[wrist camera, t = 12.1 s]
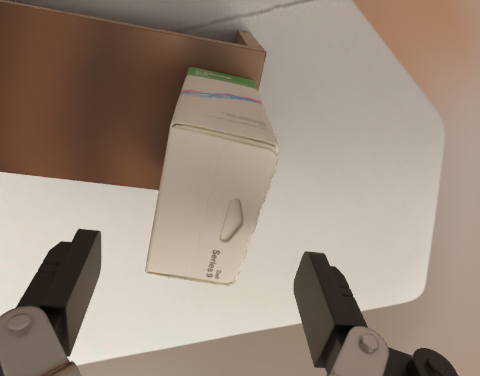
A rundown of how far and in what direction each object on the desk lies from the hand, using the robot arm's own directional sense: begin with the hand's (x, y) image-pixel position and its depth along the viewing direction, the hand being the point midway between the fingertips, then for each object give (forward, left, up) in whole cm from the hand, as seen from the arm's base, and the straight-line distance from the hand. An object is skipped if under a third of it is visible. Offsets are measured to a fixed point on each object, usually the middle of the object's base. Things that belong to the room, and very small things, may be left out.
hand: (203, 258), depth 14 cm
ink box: (0, 0, -15) cm, 15 cm away
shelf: (+5, -6, -24) cm, 26 cm away
